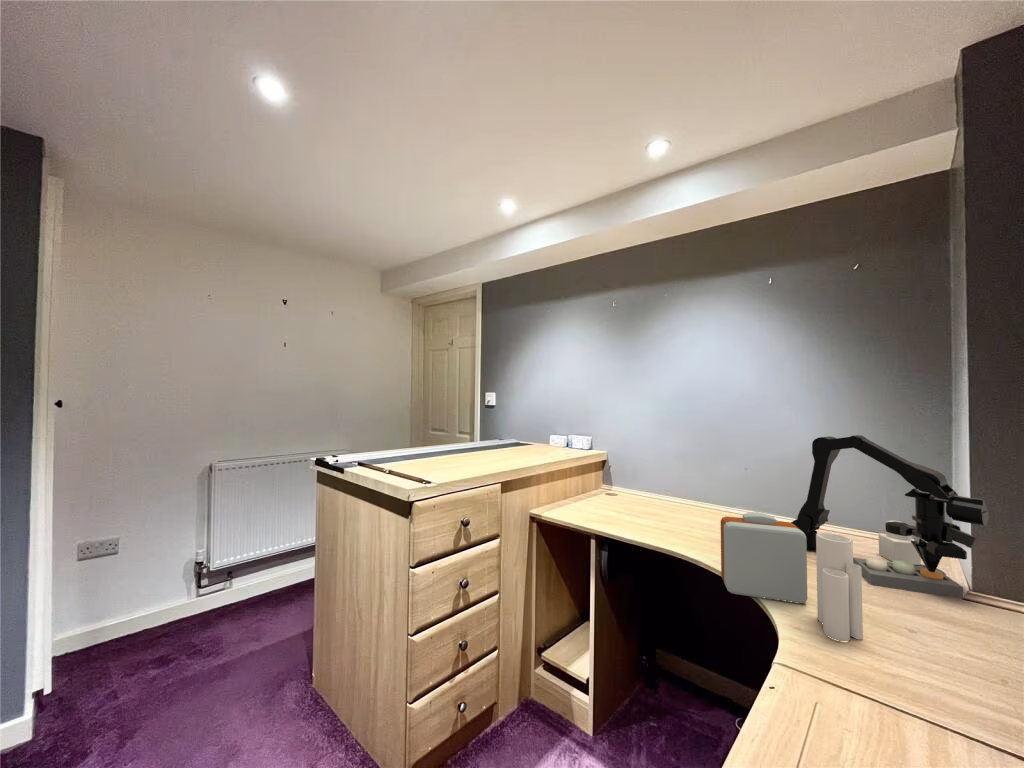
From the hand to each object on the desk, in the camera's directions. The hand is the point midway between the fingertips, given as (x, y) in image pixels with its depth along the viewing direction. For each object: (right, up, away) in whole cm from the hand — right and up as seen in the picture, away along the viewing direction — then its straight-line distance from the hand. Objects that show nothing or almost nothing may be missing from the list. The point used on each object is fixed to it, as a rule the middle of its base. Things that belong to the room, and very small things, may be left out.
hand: (931, 571), depth 109 cm
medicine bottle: (+8, -5, +17) cm, 19 cm away
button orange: (0, -3, 0) cm, 3 cm away
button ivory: (-11, -2, +5) cm, 12 cm away
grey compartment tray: (-5, -4, +2) cm, 7 cm away
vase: (-43, -4, -21) cm, 48 cm away
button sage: (-5, -2, +2) cm, 6 cm away
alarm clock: (-50, -4, -4) cm, 50 cm away
